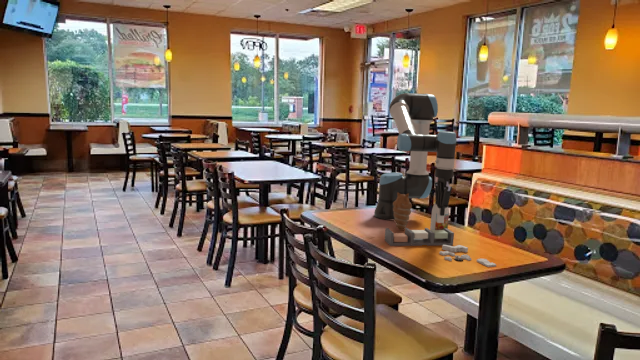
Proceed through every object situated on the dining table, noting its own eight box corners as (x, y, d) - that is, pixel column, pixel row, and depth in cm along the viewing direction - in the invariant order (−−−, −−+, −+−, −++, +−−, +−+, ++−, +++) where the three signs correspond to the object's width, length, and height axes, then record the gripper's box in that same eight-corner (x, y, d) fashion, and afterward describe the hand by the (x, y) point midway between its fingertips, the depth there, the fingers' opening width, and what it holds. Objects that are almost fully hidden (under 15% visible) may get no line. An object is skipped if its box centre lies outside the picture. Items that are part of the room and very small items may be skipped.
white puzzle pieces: (451, 271, 169) (451, 265, 169) (417, 251, 191) (417, 246, 191) (496, 267, 176) (497, 261, 176) (459, 248, 198) (459, 243, 198)
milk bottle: (427, 235, 214) (431, 192, 211) (432, 232, 221) (435, 190, 217) (444, 238, 210) (448, 195, 207) (448, 234, 217) (452, 192, 214)
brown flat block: (390, 238, 202) (390, 233, 202) (403, 238, 203) (403, 233, 203) (393, 241, 198) (394, 236, 197) (407, 241, 198) (407, 236, 198)
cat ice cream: (390, 230, 220) (392, 193, 217) (393, 226, 227) (395, 190, 224) (409, 233, 217) (411, 195, 214) (411, 229, 224) (414, 192, 221)
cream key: (410, 235, 204) (410, 230, 203) (423, 235, 205) (423, 230, 204) (414, 238, 199) (414, 233, 198) (427, 238, 200) (428, 233, 199)
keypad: (384, 240, 204) (385, 228, 203) (445, 239, 208) (446, 227, 207) (390, 245, 196) (391, 233, 195) (453, 245, 200) (454, 232, 200)
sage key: (429, 235, 205) (430, 229, 205) (442, 235, 206) (443, 229, 206) (434, 238, 200) (434, 233, 200) (447, 238, 201) (448, 233, 201)
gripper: (430, 166, 204) (426, 218, 208) (442, 170, 191) (438, 226, 195) (446, 166, 205) (442, 218, 209) (459, 170, 193) (454, 226, 196)
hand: (440, 222), depth 202 cm, fingers closed
